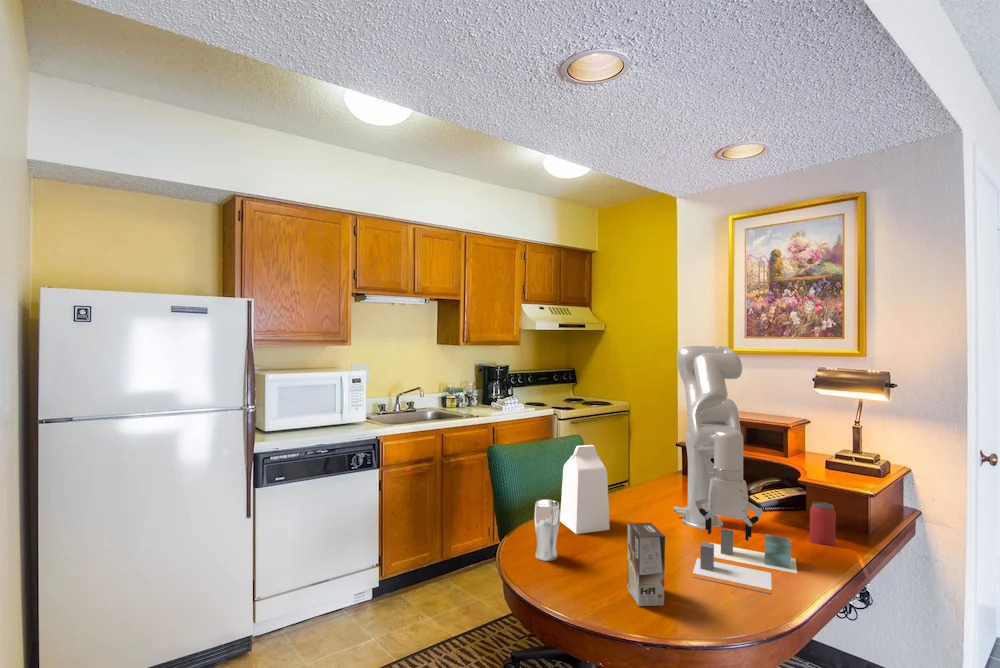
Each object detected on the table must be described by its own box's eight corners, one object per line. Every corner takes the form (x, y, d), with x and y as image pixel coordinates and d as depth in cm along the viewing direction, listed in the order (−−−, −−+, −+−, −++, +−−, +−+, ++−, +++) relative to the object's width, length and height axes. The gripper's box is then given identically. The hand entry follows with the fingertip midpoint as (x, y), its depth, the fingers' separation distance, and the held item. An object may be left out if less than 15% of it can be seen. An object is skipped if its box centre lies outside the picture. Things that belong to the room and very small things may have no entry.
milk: (576, 534, 161) (577, 450, 161) (559, 521, 172) (561, 443, 172) (609, 529, 165) (610, 448, 165) (591, 517, 176) (592, 441, 176)
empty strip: (692, 577, 133) (693, 549, 133) (697, 562, 142) (697, 536, 142) (771, 594, 124) (772, 565, 124) (771, 577, 133) (771, 549, 133)
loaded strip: (706, 559, 143) (706, 533, 143) (709, 546, 152) (709, 522, 152) (797, 578, 133) (797, 550, 133) (795, 563, 142) (795, 536, 142)
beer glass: (561, 553, 147) (562, 500, 147) (555, 563, 140) (556, 508, 140) (537, 549, 149) (538, 497, 149) (530, 559, 143) (531, 505, 143)
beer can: (839, 549, 152) (839, 509, 152) (814, 547, 154) (815, 507, 154) (829, 540, 159) (830, 501, 159) (806, 538, 160) (806, 500, 160)
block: (764, 564, 139) (765, 541, 138) (764, 555, 144) (765, 534, 144) (790, 569, 136) (790, 546, 136) (789, 560, 141) (789, 538, 141)
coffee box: (665, 606, 119) (666, 536, 119) (638, 607, 119) (639, 537, 119) (650, 586, 128) (651, 522, 128) (625, 587, 128) (626, 522, 128)
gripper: (694, 473, 146) (693, 534, 145) (762, 481, 138) (762, 546, 137) (697, 468, 153) (696, 526, 152) (762, 475, 145) (762, 537, 144)
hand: (728, 535), depth 145 cm, fingers open, 9 cm apart
